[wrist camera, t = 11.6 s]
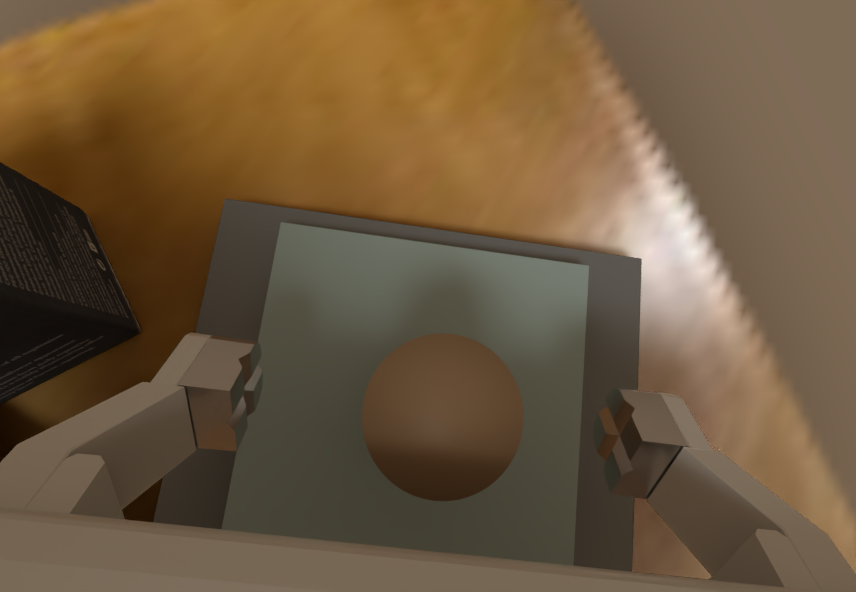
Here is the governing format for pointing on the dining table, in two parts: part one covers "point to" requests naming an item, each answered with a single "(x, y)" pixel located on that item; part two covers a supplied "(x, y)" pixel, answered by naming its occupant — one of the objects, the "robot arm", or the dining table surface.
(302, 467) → the lid
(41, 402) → the dining table surface
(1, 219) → the box
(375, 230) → the gray rectangular tray
